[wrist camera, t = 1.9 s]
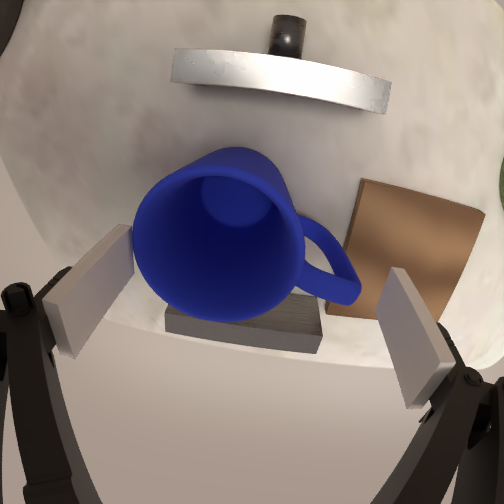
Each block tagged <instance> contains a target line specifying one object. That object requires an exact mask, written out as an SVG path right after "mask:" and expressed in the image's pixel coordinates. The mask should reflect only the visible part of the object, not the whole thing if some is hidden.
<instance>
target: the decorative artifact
mask: <svg viewBox="0 0 504 504" xmlns="http://www.w3.org/2000/svg"><path fill="white" fill-rule="evenodd" d="M499 187H500V198H501V203H502V206H503V209H504V159H503V162H502V166H501V172H500V184H499Z"/></svg>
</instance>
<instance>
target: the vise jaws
mask: <svg viewBox="0 0 504 504" xmlns="http://www.w3.org/2000/svg"><path fill="white" fill-rule="evenodd" d="M305 29H306V20H304V19H302V18H299V17H296V16H291V15H276V16H274V18H273V24H272V31H271V38H270V44H269V51H268V55H266V54H257V53H248V52H238V51H225V50H207V49H175V51H174V59H173V67H172V75H171V82H176V83H186V84H196V85H212V86H224V87H235V88H244V89H253V90H261V91H268V92H275V93H281V94H288V95H294V96H299V97H305V98H310V99H315V100H320V101H325V102H330V103H334V104H339V105H343V106H348V107H352V108H356V109H360V110H364V111H369V112H374V113H379V114H383V115H386V111H387V106H388V100H389V94H390V89H391V83H392V82H389V81H386V80H383V79H379V78H376V77H373V76H369V75H366V74H362V73H358V72H354V71H350V70H346V69H342V68H338V67H334V66H329V65H325V64H320V63H315V62H310V61H304V60H301V56H302V49H303V42H304V36H305ZM165 330H166V332H170V333H175V334H180V335H185V336H191V337H196V338H202V339H207V340H213V341H219V342H225V343H232V344H238V345H245V346H252V347H259V348H267V349H275V350H283V351H292V352H301V353H311V354H316V353H317V350H318V348H319V345H320V342H321V340H322V337H323V334H322V327H321V321H320V314H319V308H318V302H317V297H312V296H304V295H297V294H289V295H288V296H287V297H286V298H285V299H284V300H283V301H282V302H281V303H280V304H278V305H277V306H276V307H274V308H273V309H271V310H270V311H268V312H266V313H264V314H262V315H260V316H257V317H254V318H251V319H247V320H243V321H236V322H214V321H207V320H203V319H199V318H196V317H193V316H190V315H188V314H185V313H183V312H181V311H179V310H177V309H176V308H174V307H172V306H171V305H169V304H168V306H167V308H166V310H165Z"/></svg>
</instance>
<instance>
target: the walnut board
mask: <svg viewBox="0 0 504 504" xmlns="http://www.w3.org/2000/svg"><path fill="white" fill-rule="evenodd" d="M485 215H486V214H484V213H483V212H482V211H480V210H478V209H475V208H472V207H468V206H465V205H462V204H459V203H455V202H452V201H449V200H445V199H442V198H438V197H435V196H431V195H428V194H424V193H420V192H417V191H413V190H409V189H405V188H401V187H397V186H393V185H389V184H385V183H381V182H376V181H372V180H368V179H363V178H362V179H361V183H360V187H359V191H358V195H357V199H356V203H355V207H354V211H353V215H352V218H351V222H350V226H349V229H348V233H347V236H346V240H345V244H344V247H343V250H344V251H345V253H346V255H347V256H348V258H349V260H350V262H351V264H352V266H353V268H354V269H355V271H356V273H357V275H358V277H359V279H360V282H361V284H362V290H361V293H360V295H359V297H358V298H357V300H356V301H355V302H354V303H353V304H352V305H349V306H346V305H341V304H337V303H333V302H330V301H328V300H327V302H326V305H325V312H326V314H327V315H336V316H345V317H354V318H364V319H374V320H378V319H377V316H376V313H375V307H376V305H377V303H378V300H379V298H380V295H381V293H382V290H383V288H384V285H385V283H386V280H387V278H388V275H389V272H390V270H391V267H396V268H402V269H405V271H406V272H407V274H408V276H409V277H410V279H411V281H412V282H413V284H414V286H415V287H416V289H417V291H418V292H419V294H420V296H421V297H422V299H423V301H424V303H425V304H426V306H427V308H428V310H429V311H430V313H431V315H432V317H433V319H434V320H435V322H438V320H439V319H440V317H441V315H442V313H443V311H444V309H445V307H446V305H447V303H448V301H449V299H450V297H451V295H452V293H453V291H454V289H455V287H456V285H457V283H458V281H459V279H460V277H461V275H462V272H463V270H464V268H465V266H466V263H467V261H468V259H469V256H470V254H471V252H472V249H473V247H474V244H475V242H476V239H477V237H478V234H479V231H480V229H481V226H482V223H483V220H484V218H485Z"/></svg>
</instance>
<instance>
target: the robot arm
mask: <svg viewBox="0 0 504 504" xmlns="http://www.w3.org/2000/svg"><path fill="white" fill-rule="evenodd" d="M22 1H23V0H0V55H1V53H2V51H3V49H4V48H5V46H6V44H7V42H8V40H9V38H10V35H11V33H12V31H13V28H14V26H15V23H16V21H17V18H18V15H19V12H20V8H21V5H22ZM133 274H134V262H133V244H132V226H127V225H120V224H118V225H117V226H116V227H115V228H114V229H113V230H112V231H110V232H109V233H108V234H107V235H106V236H105V237H104V238H103V239H102V240H101V241H100V242H99V243H97V244H96V245H95V246H94V247H93V248H92V249H91V250H90V251H89V252H88V253H87V254H86V255H85V256H84V257H83V258H82V259H81V260H80V261H79V262H78V263H77V264H76V265H75V266H74V267H70V266H68V267H66V268H65V269H63V270H61V271H59V272H58V273H57V274H56V275H55V276H54V277H53V279H51V280H50V281H49V282H48V284H46V285H45V286H44V287H43V288H42V289H41V290H40V291H39V292H38V293H37V294H36V295H35V296H34V297H33V294H32V290H31V288H30V285H28V284H27V283H23V282H19V283H14V284H11V285H9V286H8V287H6V288H5V289H4V290H3V291H2V293H1V298H2V301H3V304H4V307H5V310H0V504H3V497H2V444H3V443H2V442H3V429H4V418H5V409H6V401H7V394H8V387H9V388H10V397H11V405H12V412H13V419H14V426H15V431H16V436H17V442H18V447H19V451H20V456H21V460H22V464H23V468H24V472H25V476H26V480H27V484H26V485H25V486H24V487H23V495H24V500H25V503H26V504H103V503H102V502H101V500H100V498H99V496H98V494H97V491H96V489H95V487H94V485H93V482H92V480H91V478H90V475H89V473H88V470H87V468H86V465H85V463H84V460H83V458H82V455H81V452H80V449H79V447H78V444H77V441H76V438H75V435H74V432H73V429H72V426H71V423H70V419H69V416H68V412H67V409H66V406H65V402H64V398H63V395H62V390H61V386H60V382H59V378H58V374H57V369H56V364H55V360H54V355H53V353H52V349H53V347H54V346H55V345H57V347H58V350H59V353H60V354H61V355H64V356H67V357H69V358H72V359H75V358H76V357H77V355H78V354H79V352H80V350H81V349H82V347H83V346H84V345H85V343H86V341H87V340H88V338H89V337H90V335H91V334H92V332H93V331H94V329H95V328H96V327H97V325H98V324H99V322H100V321H101V319H102V318H103V316H104V315H105V313H106V312H107V310H108V309H109V308H110V306H111V305H112V303H113V302H114V300H115V299H116V298H117V296H118V295H119V293H120V292H121V291H122V289H123V288H124V286H125V285H126V284H127V282H128V281H129V280H130V278H131V277H132V275H133ZM375 313H376V316H377V319H378V321H379V324H380V327H381V330H382V333H383V336H384V338H385V341H386V344H387V347H388V350H389V353H390V356H391V359H392V362H393V365H394V369H395V371H396V375H397V378H398V381H399V385H400V388H401V391H402V394H403V398H404V402H405V405H406V409H421V408H423V406H424V405H425V404H426V403H427V401H428V400H430V403H431V406H432V407H431V408H430V409H429V410H428V411H427V413H426V414H425V415H424V416H423V417H422V418H421V419H420V421H419V423H421V422H422V423H421V425H420V427H419V428H418V430H417V432H416V434H415V436H414V438H413V439H412V441H411V443H410V444H409V446H408V448H407V450H406V451H405V453H404V455H403V456H402V458H401V460H400V461H399V463H398V464H397V466H396V467H395V469H394V471H393V472H392V474H391V475H390V477H389V478H388V480H387V481H386V482H385V484H384V485H383V487H382V488H381V490H380V491H379V493H378V494H377V495H376V497H375V498H374V499H373V501H372V502H371V503H370V504H441V501H442V499H443V498H444V495H445V493H446V491H447V489H448V487H449V485H450V483H451V480H452V478H453V476H454V474H455V471H456V469H457V466H458V472H457V478H456V483H455V488H454V493H453V498H452V502H451V504H504V377H500V378H499V379H498V381H496V383H495V384H490V383H487V382H484V381H483V378H482V376H481V375H480V374H479V372H477V371H476V370H475V369H473V368H471V367H466V366H465V364H464V362H463V360H462V358H461V356H460V354H459V352H458V350H457V348H456V346H454V345H455V344H454V343H453V341H452V340H451V337H450V335H449V333H448V331H447V330H446V329H445V328H444V327H443V326H442V325H441V324H440V323H438V322H435V320H434V319H433V317H432V315H431V313H430V311H429V310H428V308H427V306H426V304H425V303H424V301H423V299H422V297H421V296H420V294H419V292H418V291H417V289H416V287H415V286H414V284H413V282H412V281H411V279H410V277H409V276H408V274H407V272H406V271H405V269H402V268H396V267H391V270H390V272H389V275H388V278H387V280H386V283H385V285H384V288H383V290H382V293H381V295H380V298H379V300H378V303H377V305H376V307H375ZM490 426H491V428H490ZM458 464H459V465H458Z"/></svg>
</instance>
